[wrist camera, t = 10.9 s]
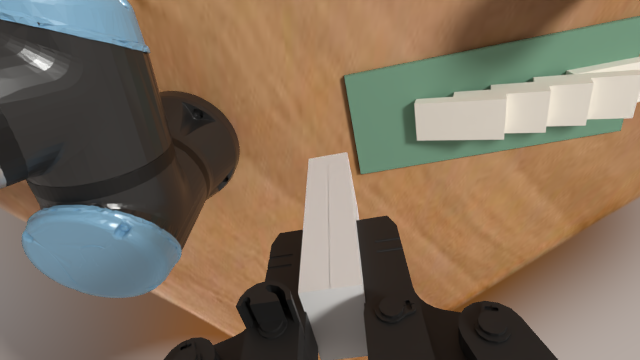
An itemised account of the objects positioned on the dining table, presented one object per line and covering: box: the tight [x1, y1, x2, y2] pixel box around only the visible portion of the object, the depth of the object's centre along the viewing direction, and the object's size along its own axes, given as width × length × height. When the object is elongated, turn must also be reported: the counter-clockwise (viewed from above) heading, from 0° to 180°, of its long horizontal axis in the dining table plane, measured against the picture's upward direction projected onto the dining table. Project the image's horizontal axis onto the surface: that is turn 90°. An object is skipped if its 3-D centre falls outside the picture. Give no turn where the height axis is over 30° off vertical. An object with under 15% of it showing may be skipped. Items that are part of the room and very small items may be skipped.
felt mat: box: [344, 16, 640, 174], centre depth 46 cm, size 34×14×1 cm, turn 102°
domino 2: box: [453, 86, 551, 133], centre depth 43 cm, size 2×5×10 cm
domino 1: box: [414, 94, 507, 141], centre depth 44 cm, size 2×5×10 cm
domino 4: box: [533, 70, 640, 119], centre depth 42 cm, size 2×5×10 cm
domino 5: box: [566, 57, 640, 102], centre depth 43 cm, size 2×5×10 cm
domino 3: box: [491, 78, 594, 126], centre depth 43 cm, size 2×5×10 cm
